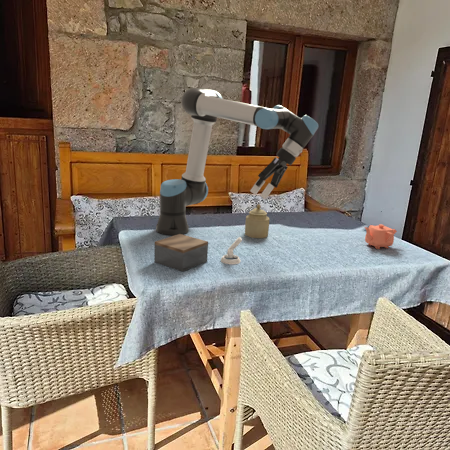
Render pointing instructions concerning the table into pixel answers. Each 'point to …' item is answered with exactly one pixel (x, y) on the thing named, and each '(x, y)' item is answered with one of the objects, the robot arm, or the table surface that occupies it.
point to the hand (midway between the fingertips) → (257, 195)
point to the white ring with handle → (230, 254)
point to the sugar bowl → (257, 223)
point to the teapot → (379, 236)
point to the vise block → (180, 252)
